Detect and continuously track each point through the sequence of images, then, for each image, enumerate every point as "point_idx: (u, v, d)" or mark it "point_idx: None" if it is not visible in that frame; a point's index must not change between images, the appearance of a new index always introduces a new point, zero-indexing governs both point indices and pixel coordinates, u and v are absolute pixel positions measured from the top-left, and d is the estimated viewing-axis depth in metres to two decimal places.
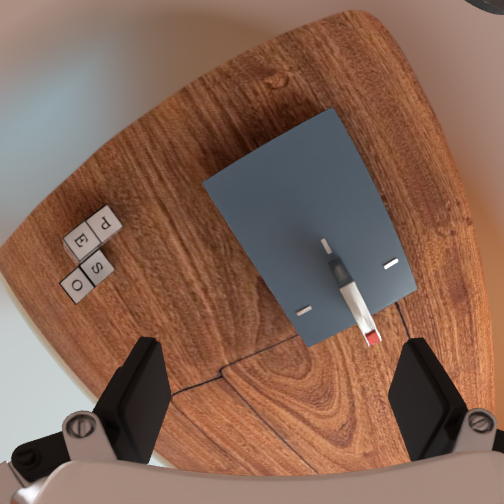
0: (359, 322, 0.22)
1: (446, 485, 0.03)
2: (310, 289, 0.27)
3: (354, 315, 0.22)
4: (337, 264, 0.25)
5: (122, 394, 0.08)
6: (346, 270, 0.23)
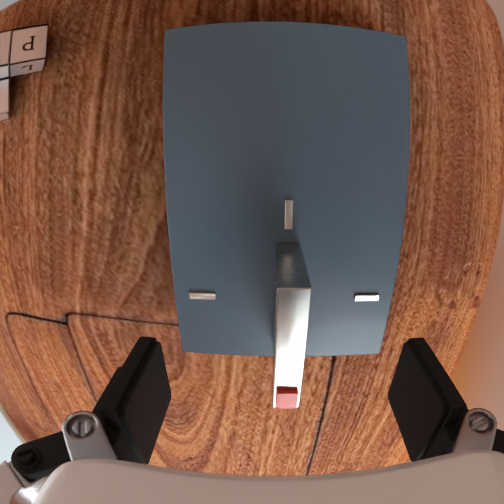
0: (279, 363, 0.12)
1: (446, 485, 0.03)
2: (228, 268, 0.16)
3: (277, 348, 0.12)
4: (291, 250, 0.14)
5: (122, 394, 0.08)
6: (303, 265, 0.13)
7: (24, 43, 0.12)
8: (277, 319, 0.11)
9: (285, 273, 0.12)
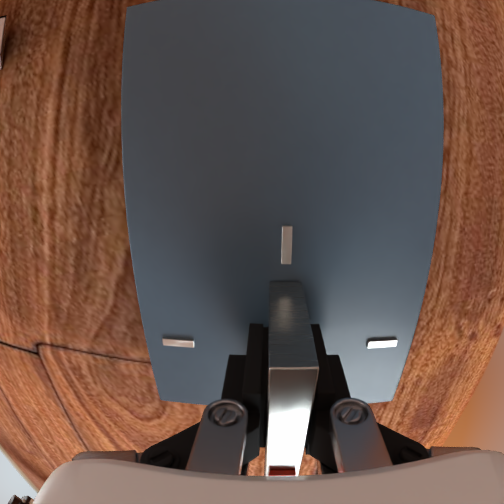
0: (272, 447, 0.08)
1: (446, 485, 0.03)
2: (208, 311, 0.12)
3: (269, 433, 0.08)
4: (290, 295, 0.11)
5: (261, 376, 0.09)
6: (306, 322, 0.09)
7: None
8: (269, 403, 0.07)
9: (281, 338, 0.08)
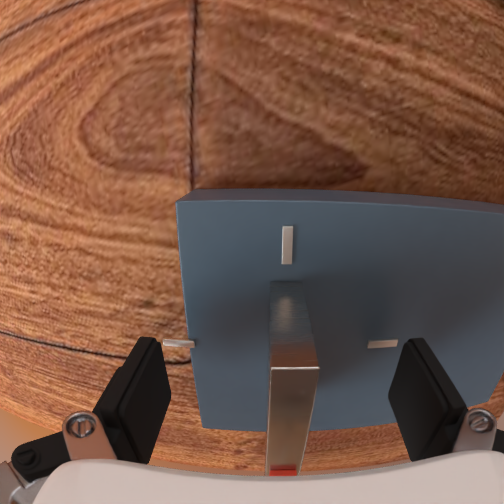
0: (272, 447, 0.08)
1: (446, 485, 0.03)
2: (326, 281, 0.12)
3: (270, 433, 0.08)
4: (290, 295, 0.11)
5: (122, 394, 0.08)
6: (307, 322, 0.09)
7: None
8: (270, 403, 0.07)
9: (282, 338, 0.08)
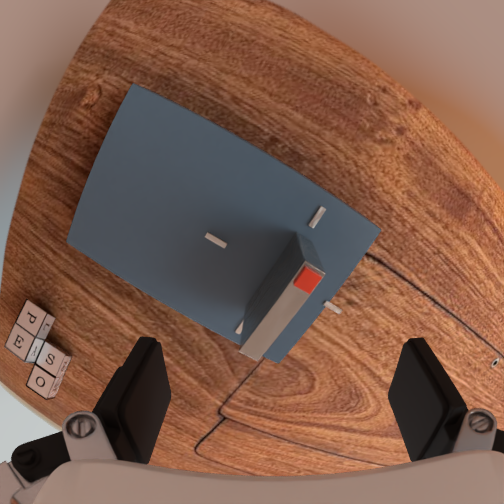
0: (290, 315, 0.15)
1: (446, 485, 0.03)
2: (232, 298, 0.20)
3: (283, 326, 0.15)
4: None
5: (122, 394, 0.08)
6: None
7: (29, 320, 0.23)
8: (270, 345, 0.16)
9: None
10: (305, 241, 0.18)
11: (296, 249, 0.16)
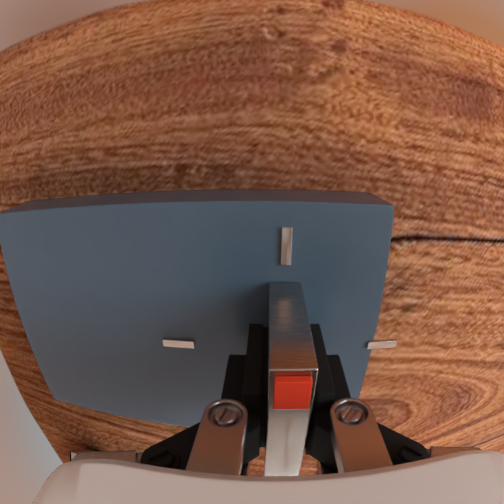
0: (301, 435, 0.08)
1: (446, 485, 0.03)
2: None
3: (301, 448, 0.08)
4: None
5: (261, 377, 0.09)
6: None
7: None
8: (298, 468, 0.09)
9: None
10: (284, 296, 0.11)
11: None
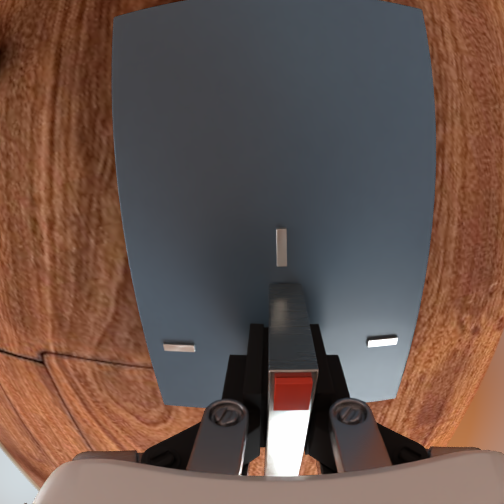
0: (301, 436, 0.08)
1: (446, 485, 0.03)
2: (207, 316, 0.12)
3: (301, 449, 0.08)
4: None
5: (261, 377, 0.09)
6: None
7: None
8: (298, 468, 0.09)
9: None
10: (284, 297, 0.11)
11: None
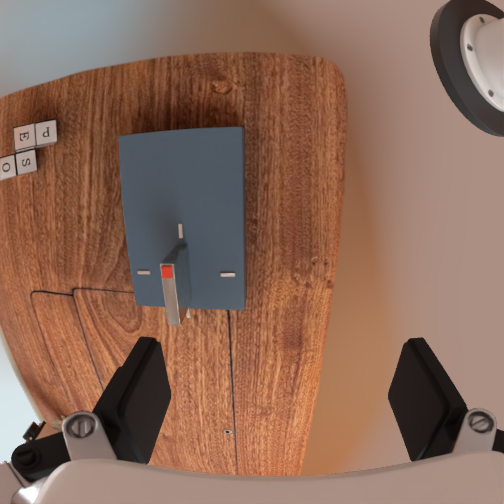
0: (174, 292, 0.26)
1: (446, 485, 0.03)
2: (155, 258, 0.31)
3: (176, 300, 0.26)
4: None
5: (122, 394, 0.08)
6: None
7: (43, 132, 0.27)
8: (178, 313, 0.27)
9: None
10: (177, 248, 0.29)
11: None
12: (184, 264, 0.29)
